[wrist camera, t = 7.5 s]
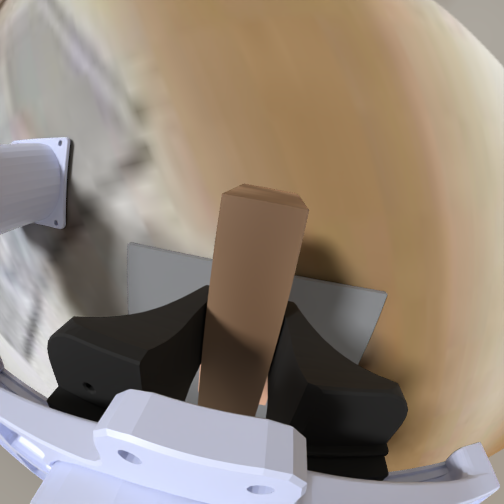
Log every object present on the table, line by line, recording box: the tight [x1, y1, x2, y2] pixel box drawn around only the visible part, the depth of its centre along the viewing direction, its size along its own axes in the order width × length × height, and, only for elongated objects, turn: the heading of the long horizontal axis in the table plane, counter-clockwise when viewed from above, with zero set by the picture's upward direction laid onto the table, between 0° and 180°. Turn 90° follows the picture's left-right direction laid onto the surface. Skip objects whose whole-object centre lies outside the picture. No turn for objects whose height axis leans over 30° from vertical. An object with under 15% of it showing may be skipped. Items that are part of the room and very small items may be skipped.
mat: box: [127, 242, 387, 419], centre depth 22 cm, size 20×16×1 cm
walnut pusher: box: [198, 184, 309, 417], centre depth 12 cm, size 2×10×5 cm, turn 170°
